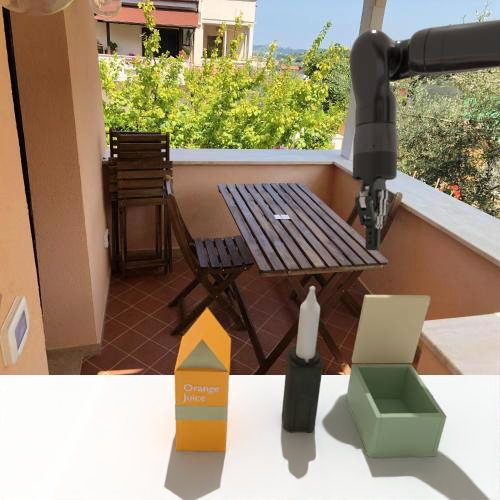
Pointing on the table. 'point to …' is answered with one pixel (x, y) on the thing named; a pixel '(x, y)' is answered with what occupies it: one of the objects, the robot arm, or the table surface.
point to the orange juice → (202, 386)
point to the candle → (303, 372)
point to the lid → (390, 328)
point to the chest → (394, 411)
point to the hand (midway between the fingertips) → (372, 249)
